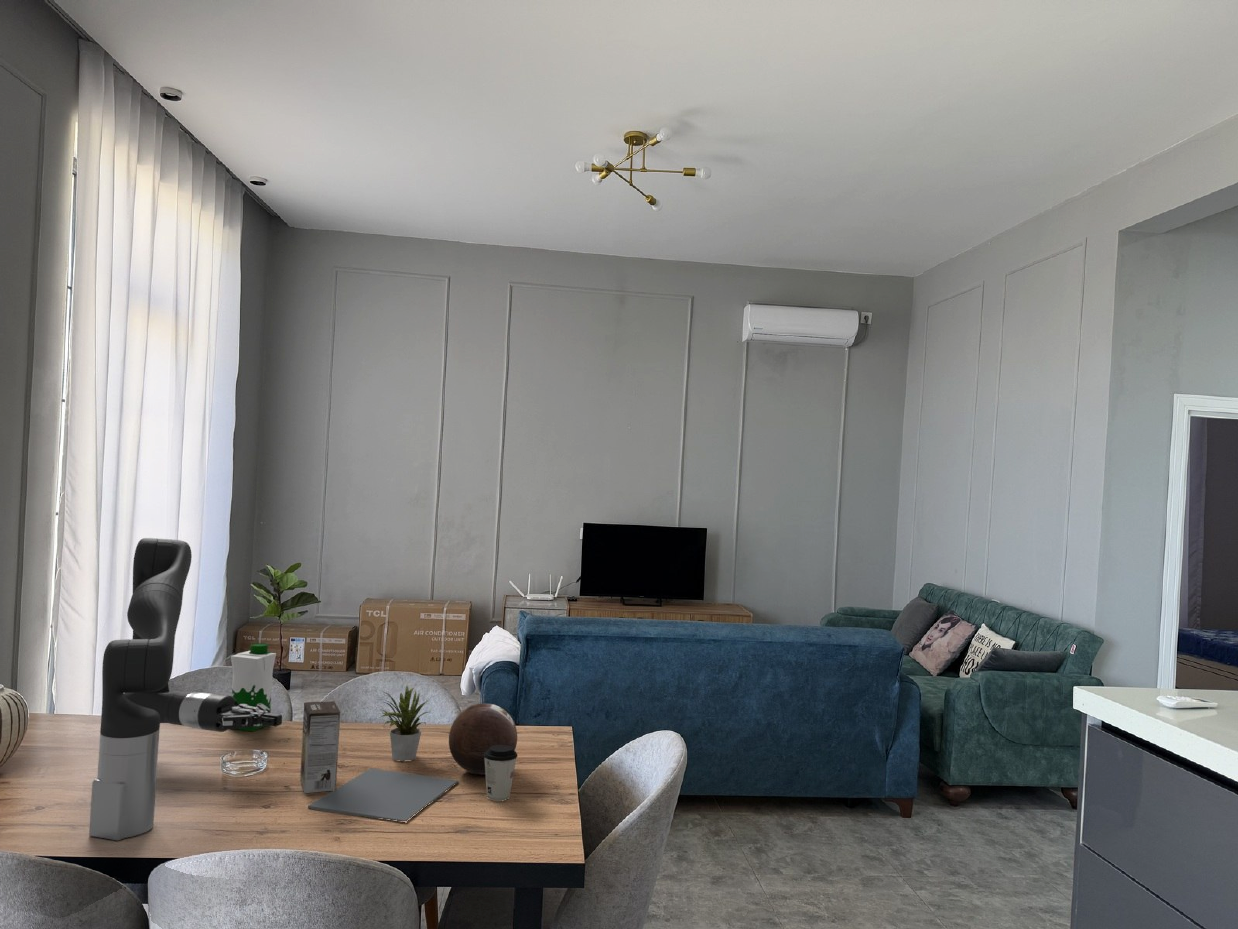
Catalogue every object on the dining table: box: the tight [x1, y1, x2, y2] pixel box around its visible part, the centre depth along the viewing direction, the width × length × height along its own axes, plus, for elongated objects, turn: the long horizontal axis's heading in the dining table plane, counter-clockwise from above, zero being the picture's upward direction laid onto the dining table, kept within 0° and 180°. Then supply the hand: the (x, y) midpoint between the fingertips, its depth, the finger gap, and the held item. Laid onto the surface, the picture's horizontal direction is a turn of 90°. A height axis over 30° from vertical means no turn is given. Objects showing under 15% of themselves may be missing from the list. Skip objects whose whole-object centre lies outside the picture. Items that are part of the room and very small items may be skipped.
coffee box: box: [299, 700, 341, 794], centre depth 183 cm, size 9×6×16 cm
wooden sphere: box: [448, 702, 518, 775], centre depth 196 cm, size 15×15×15 cm
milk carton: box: [230, 642, 277, 732], centre depth 221 cm, size 9×9×20 cm
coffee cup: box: [484, 745, 518, 802], centre depth 181 cm, size 7×7×10 cm
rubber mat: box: [307, 767, 459, 821], centre depth 179 cm, size 24×20×1 cm
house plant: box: [376, 685, 433, 761], centre depth 204 cm, size 14×14×16 cm
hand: (279, 720), depth 185 cm, fingers closed
